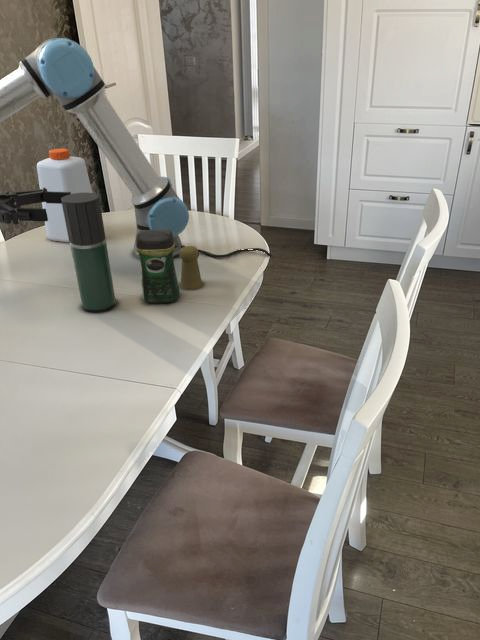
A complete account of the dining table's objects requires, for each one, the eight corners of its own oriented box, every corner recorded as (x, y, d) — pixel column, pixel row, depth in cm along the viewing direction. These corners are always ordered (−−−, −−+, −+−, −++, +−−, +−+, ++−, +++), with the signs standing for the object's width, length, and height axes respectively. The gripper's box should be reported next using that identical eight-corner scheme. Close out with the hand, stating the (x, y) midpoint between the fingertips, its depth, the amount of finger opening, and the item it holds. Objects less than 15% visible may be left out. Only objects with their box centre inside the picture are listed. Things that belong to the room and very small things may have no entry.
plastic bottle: (42, 240, 182) (22, 153, 168) (68, 226, 195) (52, 144, 180) (81, 245, 178) (65, 156, 164) (105, 230, 191) (92, 146, 176)
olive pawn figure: (206, 282, 153) (204, 245, 147) (195, 291, 148) (192, 253, 143) (187, 279, 155) (184, 242, 149) (176, 287, 151) (172, 249, 145)
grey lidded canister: (104, 231, 136) (98, 191, 131) (105, 243, 129) (99, 201, 124) (69, 234, 134) (61, 194, 129) (68, 246, 127) (60, 204, 122)
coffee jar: (180, 291, 148) (175, 224, 139) (178, 304, 142) (172, 235, 132) (145, 291, 148) (136, 225, 138) (140, 305, 141) (131, 236, 132)
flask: (115, 296, 146) (102, 215, 134) (116, 310, 139) (103, 226, 127) (82, 300, 144) (66, 218, 132) (82, 314, 137) (65, 229, 125)
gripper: (4, 203, 143) (82, 206, 141) (-53, 236, 122) (38, 239, 120) (-3, 174, 139) (77, 176, 137) (-63, 202, 118) (30, 205, 116)
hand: (59, 206), depth 128 cm, fingers open, 13 cm apart
